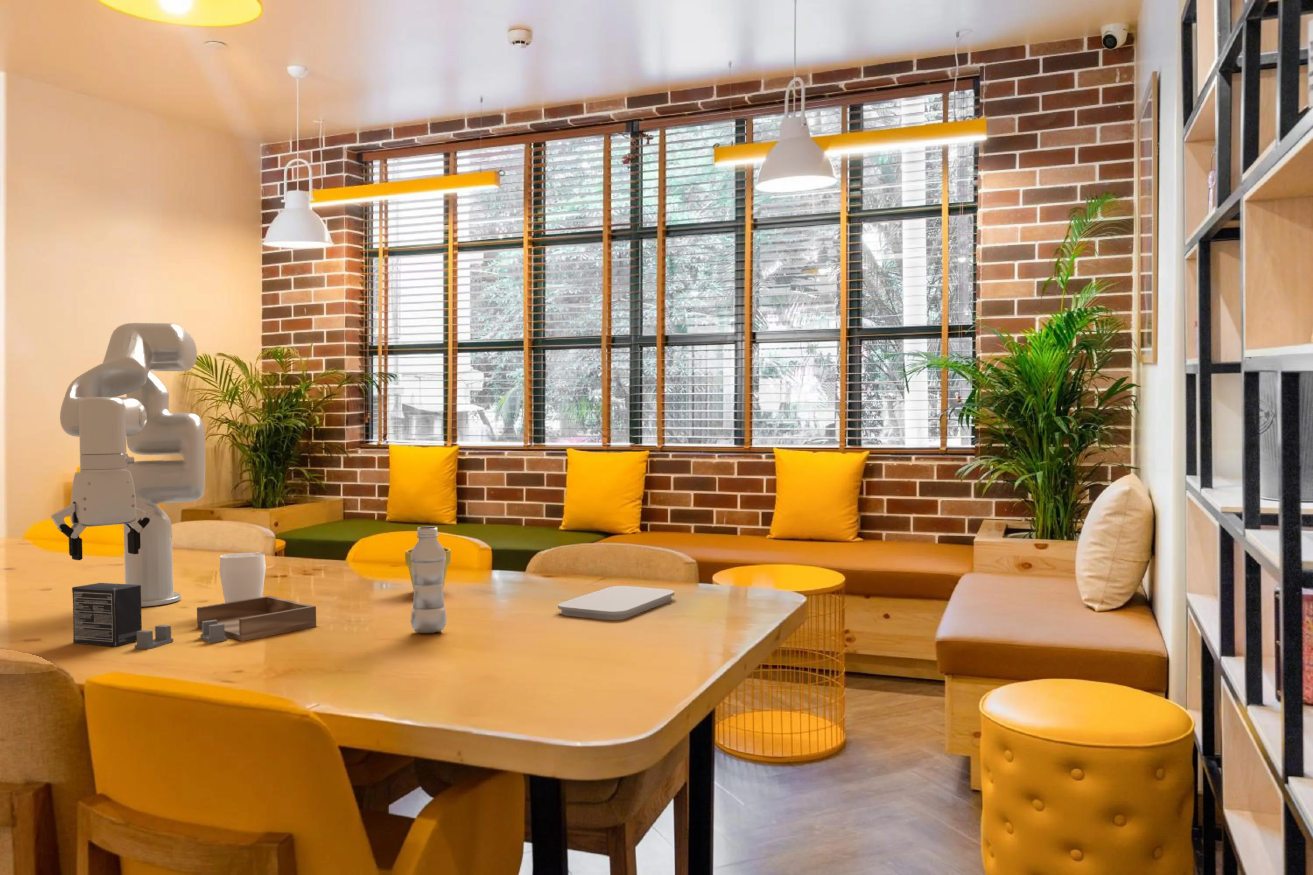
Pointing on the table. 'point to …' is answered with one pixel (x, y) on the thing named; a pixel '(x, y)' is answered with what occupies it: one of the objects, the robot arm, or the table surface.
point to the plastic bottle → (428, 582)
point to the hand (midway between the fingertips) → (105, 556)
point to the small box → (106, 614)
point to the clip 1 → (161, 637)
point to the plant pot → (408, 563)
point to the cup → (242, 575)
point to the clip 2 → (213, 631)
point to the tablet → (615, 602)
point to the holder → (259, 617)
